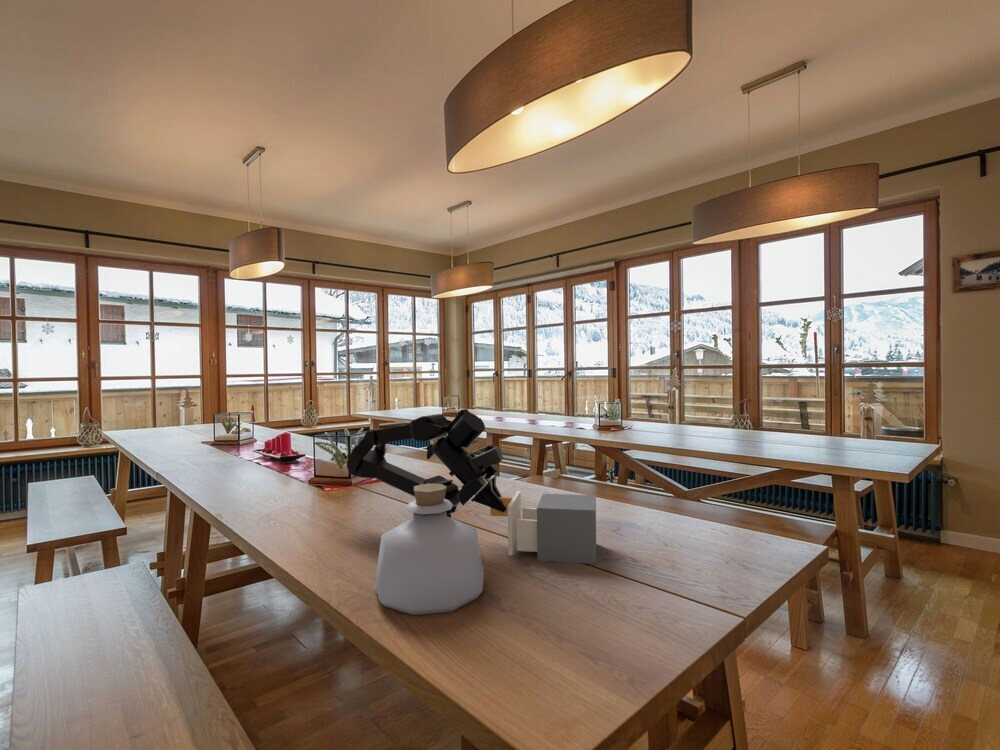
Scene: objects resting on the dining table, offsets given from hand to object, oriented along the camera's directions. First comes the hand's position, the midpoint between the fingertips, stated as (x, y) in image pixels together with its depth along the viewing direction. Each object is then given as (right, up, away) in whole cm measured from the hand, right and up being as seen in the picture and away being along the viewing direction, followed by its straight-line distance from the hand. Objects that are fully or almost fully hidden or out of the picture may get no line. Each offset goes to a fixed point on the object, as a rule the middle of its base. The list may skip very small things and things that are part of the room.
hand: (505, 509), depth 111 cm
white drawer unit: (+5, -8, -1) cm, 9 cm away
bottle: (-14, -9, -20) cm, 26 cm away
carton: (+14, -8, -3) cm, 16 cm away
